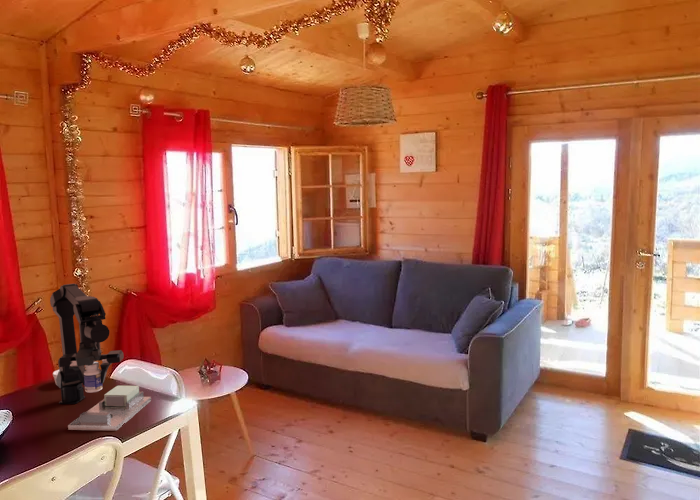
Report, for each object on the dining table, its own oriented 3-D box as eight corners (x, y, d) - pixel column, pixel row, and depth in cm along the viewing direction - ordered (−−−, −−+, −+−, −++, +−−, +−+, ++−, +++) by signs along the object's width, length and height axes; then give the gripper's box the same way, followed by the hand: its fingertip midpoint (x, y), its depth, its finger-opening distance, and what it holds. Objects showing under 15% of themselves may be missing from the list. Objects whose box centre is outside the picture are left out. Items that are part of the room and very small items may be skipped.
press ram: (104, 406, 193) (103, 395, 192) (118, 396, 202) (117, 385, 202) (126, 407, 192) (125, 395, 192) (139, 396, 202) (138, 385, 201)
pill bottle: (99, 392, 182) (97, 365, 181) (82, 393, 181) (80, 366, 180) (104, 386, 187) (102, 360, 186) (88, 388, 186) (85, 361, 185)
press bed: (68, 429, 179) (67, 416, 178) (108, 400, 203) (107, 388, 203) (116, 430, 177) (115, 416, 177) (151, 400, 202) (150, 388, 202)
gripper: (49, 345, 173) (54, 394, 174) (113, 341, 176) (117, 389, 177) (62, 337, 184) (66, 383, 185) (122, 333, 187) (125, 378, 188)
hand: (93, 384), depth 184 cm, fingers closed on pill bottle, 5 cm apart
